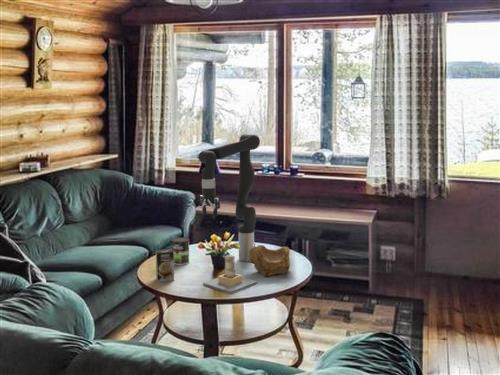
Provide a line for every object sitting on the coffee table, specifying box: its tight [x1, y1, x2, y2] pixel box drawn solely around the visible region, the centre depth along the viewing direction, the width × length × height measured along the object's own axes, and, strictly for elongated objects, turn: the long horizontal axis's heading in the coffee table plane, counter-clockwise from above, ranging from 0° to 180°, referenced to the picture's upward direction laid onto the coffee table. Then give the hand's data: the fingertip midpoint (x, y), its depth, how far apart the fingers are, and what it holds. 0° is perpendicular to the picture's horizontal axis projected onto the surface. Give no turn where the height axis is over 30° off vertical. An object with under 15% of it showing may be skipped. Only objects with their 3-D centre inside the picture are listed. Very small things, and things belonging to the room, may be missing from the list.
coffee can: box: [171, 236, 190, 266], centre depth 331 cm, size 10×10×14 cm
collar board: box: [202, 273, 258, 295], centre depth 294 cm, size 20×20×5 cm
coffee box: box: [155, 248, 175, 283], centre depth 301 cm, size 9×6×16 cm
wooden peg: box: [224, 254, 236, 279], centre depth 293 cm, size 5×5×14 cm
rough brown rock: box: [249, 244, 291, 278], centre depth 310 cm, size 23×17×15 cm
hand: (209, 214), depth 315 cm, fingers open, 8 cm apart
